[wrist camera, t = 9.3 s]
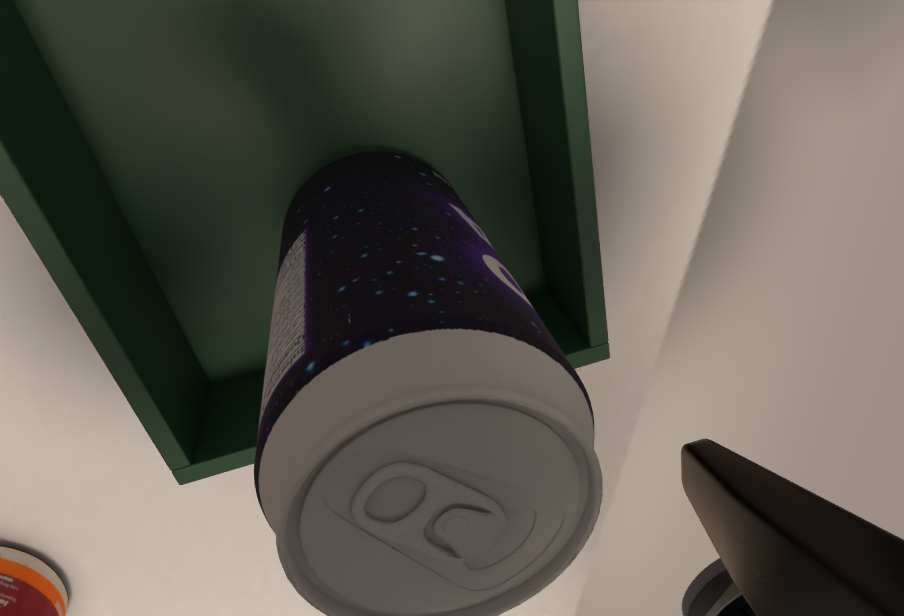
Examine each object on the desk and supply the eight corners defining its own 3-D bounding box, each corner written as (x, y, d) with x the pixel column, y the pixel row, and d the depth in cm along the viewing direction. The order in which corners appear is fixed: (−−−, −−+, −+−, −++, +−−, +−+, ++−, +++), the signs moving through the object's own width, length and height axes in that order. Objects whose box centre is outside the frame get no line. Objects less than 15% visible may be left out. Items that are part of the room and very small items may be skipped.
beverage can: (394, 339, 21) (470, 682, 11) (247, 255, 19) (166, 593, 9) (498, 212, 20) (699, 470, 10) (352, 103, 17) (412, 289, 7)
